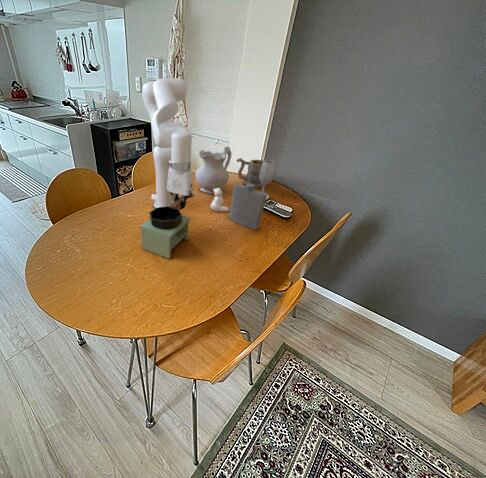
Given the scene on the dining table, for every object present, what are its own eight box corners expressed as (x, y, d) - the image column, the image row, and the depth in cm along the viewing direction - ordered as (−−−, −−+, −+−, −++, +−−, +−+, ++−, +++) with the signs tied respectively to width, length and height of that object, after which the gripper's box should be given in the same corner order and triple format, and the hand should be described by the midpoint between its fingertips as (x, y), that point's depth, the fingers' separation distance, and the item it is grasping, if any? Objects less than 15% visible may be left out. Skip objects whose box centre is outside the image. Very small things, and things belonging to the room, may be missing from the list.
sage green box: (141, 248, 107) (139, 225, 101) (162, 230, 118) (161, 209, 112) (170, 259, 101) (170, 236, 95) (189, 239, 113) (190, 217, 106)
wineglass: (271, 196, 150) (279, 160, 138) (266, 202, 144) (275, 165, 132) (256, 193, 154) (263, 158, 142) (251, 198, 148) (258, 162, 136)
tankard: (265, 181, 169) (271, 159, 160) (262, 188, 159) (268, 165, 151) (235, 176, 175) (239, 154, 167) (231, 183, 166) (234, 160, 157)
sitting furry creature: (229, 211, 134) (232, 190, 127) (215, 214, 131) (217, 193, 125) (220, 204, 141) (223, 183, 134) (206, 206, 139) (208, 185, 132)
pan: (144, 223, 102) (144, 213, 99) (172, 203, 117) (172, 193, 114) (170, 232, 97) (170, 221, 94) (196, 209, 112) (196, 199, 109)
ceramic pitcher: (212, 182, 169) (213, 142, 156) (236, 189, 157) (240, 147, 144) (189, 191, 157) (188, 149, 144) (213, 199, 145) (215, 154, 132)
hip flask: (259, 227, 122) (269, 188, 110) (255, 231, 119) (264, 191, 108) (231, 216, 131) (237, 178, 119) (227, 218, 128) (232, 180, 117)
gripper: (158, 164, 101) (159, 206, 112) (194, 172, 95) (192, 215, 105) (168, 159, 106) (168, 199, 117) (203, 166, 100) (200, 208, 110)
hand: (179, 207), depth 111 cm, fingers closed on pan
